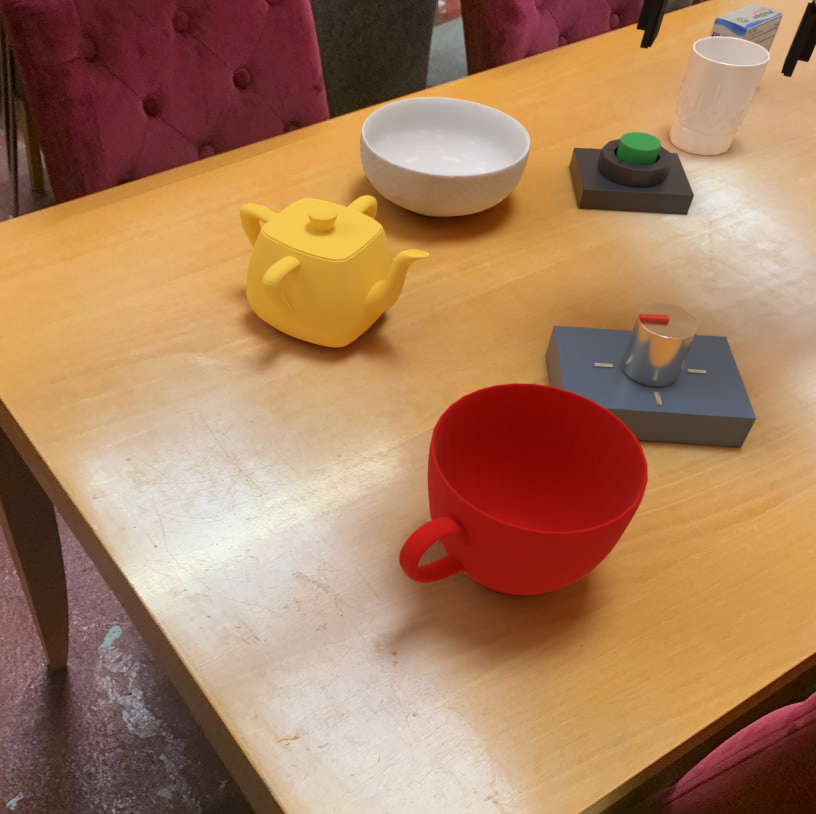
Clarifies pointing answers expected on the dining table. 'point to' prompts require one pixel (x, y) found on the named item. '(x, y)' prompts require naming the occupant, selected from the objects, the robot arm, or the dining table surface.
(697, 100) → the white cup
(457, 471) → the ceramic cup
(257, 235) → the teapot
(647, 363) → the program dial
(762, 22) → the medicine box
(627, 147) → the button
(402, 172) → the cereal bowl
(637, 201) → the button block
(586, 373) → the panel
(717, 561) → the dining table surface
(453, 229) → the dining table surface
